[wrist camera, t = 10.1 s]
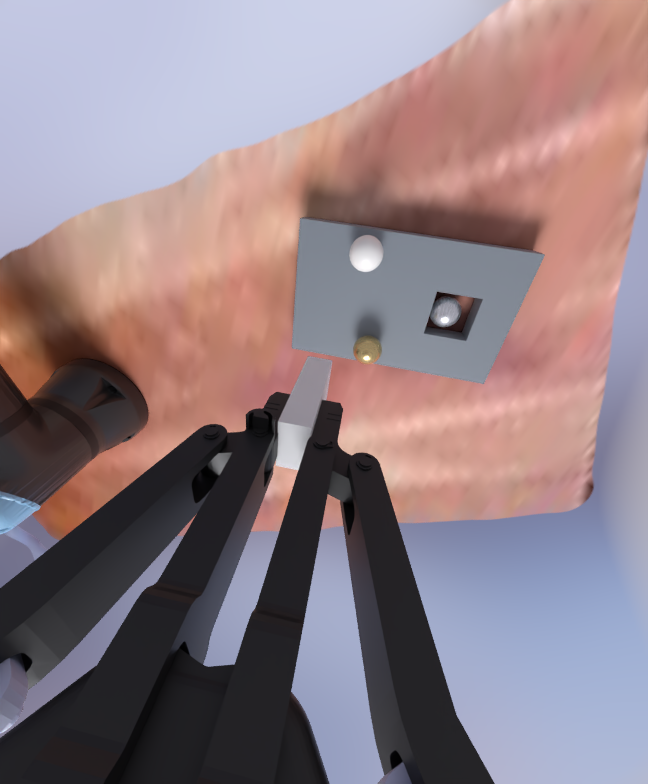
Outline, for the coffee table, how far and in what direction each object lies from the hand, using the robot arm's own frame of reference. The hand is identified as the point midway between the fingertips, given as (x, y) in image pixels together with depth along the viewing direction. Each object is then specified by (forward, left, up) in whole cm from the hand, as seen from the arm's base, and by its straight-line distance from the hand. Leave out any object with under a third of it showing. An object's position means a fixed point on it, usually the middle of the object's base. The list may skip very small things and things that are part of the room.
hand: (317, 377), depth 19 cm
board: (+6, 0, -20) cm, 20 cm away
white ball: (+1, +5, -16) cm, 16 cm away
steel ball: (+11, 0, -18) cm, 21 cm away
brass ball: (+3, -5, -16) cm, 16 cm away
